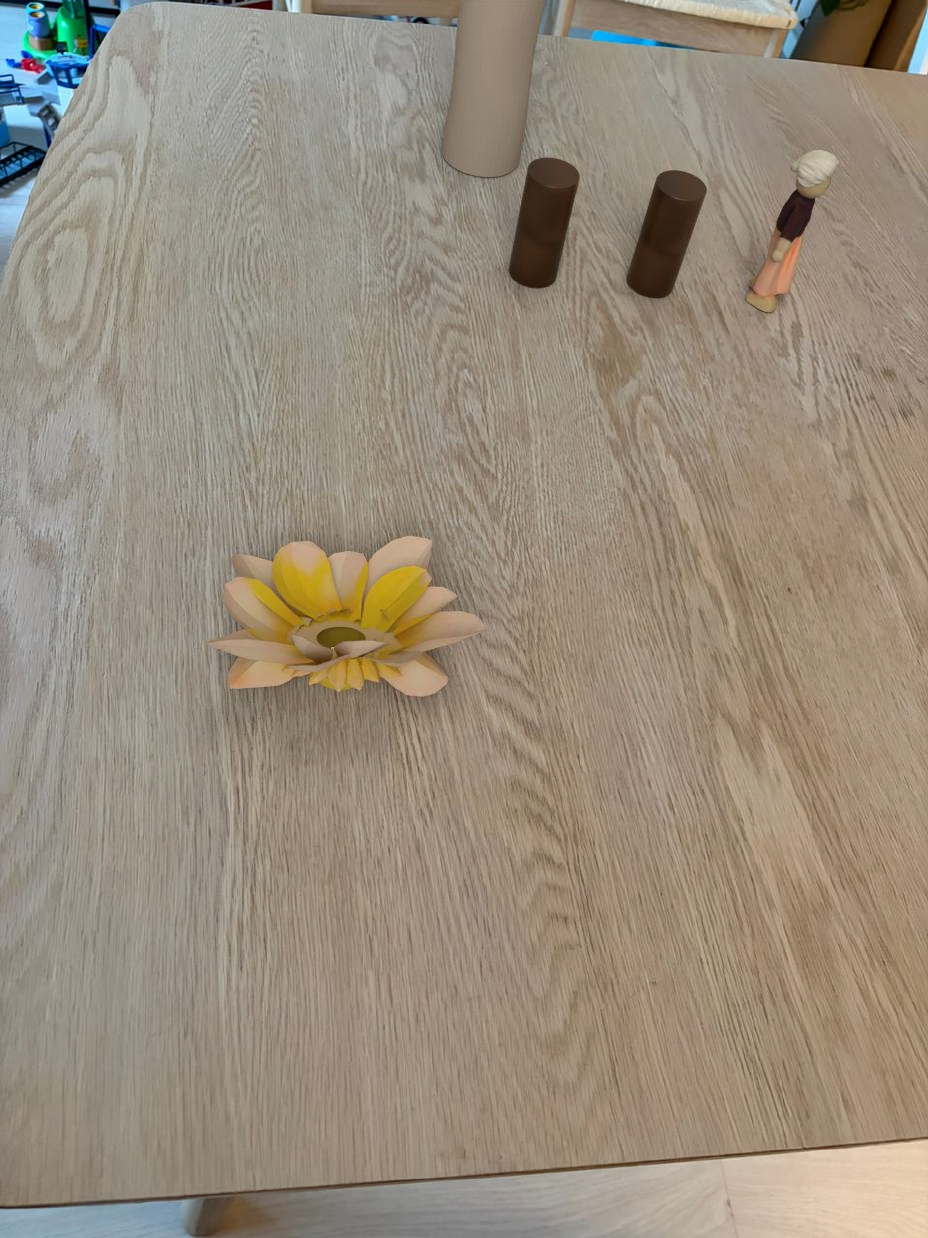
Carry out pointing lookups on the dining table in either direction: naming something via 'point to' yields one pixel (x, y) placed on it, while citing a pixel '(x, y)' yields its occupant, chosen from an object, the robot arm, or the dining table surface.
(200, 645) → the dining table surface
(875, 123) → the dining table surface
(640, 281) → the marker row
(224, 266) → the dining table surface
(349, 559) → the decorative flower
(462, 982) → the dining table surface
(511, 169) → the candle
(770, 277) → the grandmother figurine
